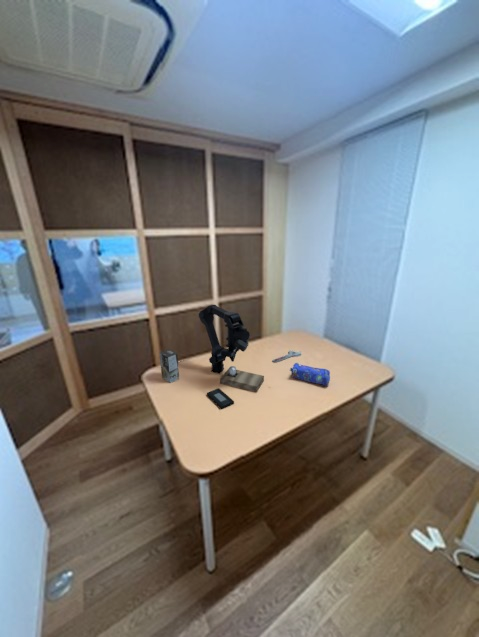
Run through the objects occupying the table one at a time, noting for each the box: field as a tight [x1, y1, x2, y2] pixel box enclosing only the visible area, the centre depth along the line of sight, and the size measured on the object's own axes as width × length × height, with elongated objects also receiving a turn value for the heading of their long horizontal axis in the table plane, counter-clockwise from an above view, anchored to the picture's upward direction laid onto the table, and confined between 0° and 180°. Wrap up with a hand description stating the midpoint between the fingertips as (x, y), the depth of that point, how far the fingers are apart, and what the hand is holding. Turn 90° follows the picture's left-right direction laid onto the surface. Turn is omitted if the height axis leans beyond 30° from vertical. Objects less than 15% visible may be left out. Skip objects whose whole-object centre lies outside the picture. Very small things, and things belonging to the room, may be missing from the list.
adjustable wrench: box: [272, 350, 302, 363], centre depth 179 cm, size 8×26×2 cm, turn 120°
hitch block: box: [219, 368, 265, 393], centre depth 147 cm, size 22×12×4 cm, turn 67°
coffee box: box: [159, 349, 180, 384], centre depth 148 cm, size 9×6×16 cm
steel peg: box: [228, 365, 237, 378], centre depth 148 cm, size 4×4×8 cm
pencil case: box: [289, 362, 331, 386], centre depth 149 cm, size 22×9×10 cm, turn 63°
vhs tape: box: [206, 388, 235, 410], centre depth 132 cm, size 8×14×2 cm, turn 37°
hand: (232, 361), depth 146 cm, fingers closed
